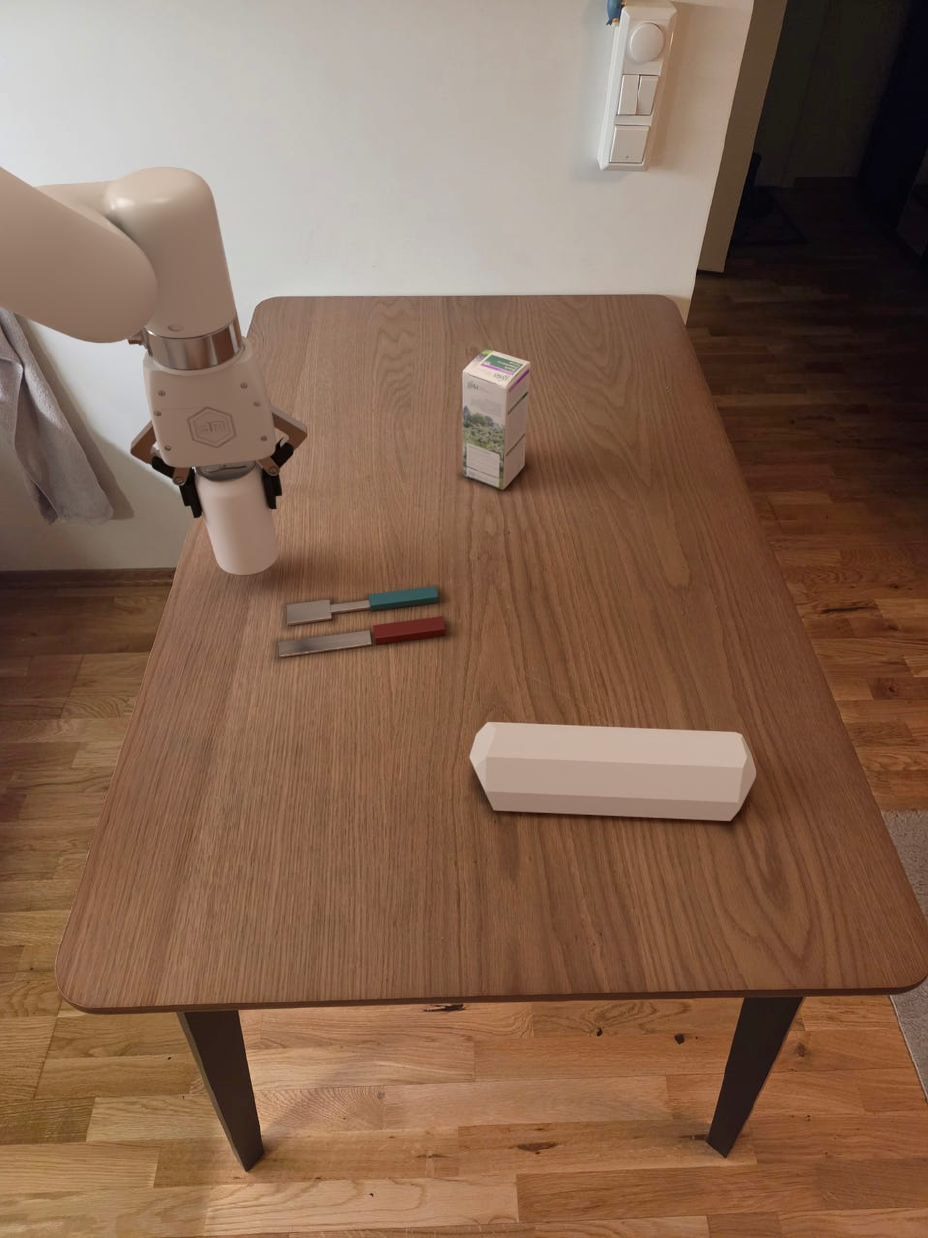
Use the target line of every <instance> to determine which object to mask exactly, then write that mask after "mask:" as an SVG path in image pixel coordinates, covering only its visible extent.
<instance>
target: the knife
mask: <svg viewBox="0 0 928 1238" xmlns="http://www.w3.org/2000/svg"><path fill="white" fill-rule="evenodd" d="M372 628H373V634H374V635H373V636H374V641H375V642H374V643H375V645H376V646H377V645H383V644H390V643H392V644H393V643H399V642H406V641H414V640H421V639H429V638H436V637H444V636H446V624H445V621H444V616H443V615H441V616H433V617H426V618H417V619H410V620H402V621H396V622H387V623H386V622H385V623H379V624H373V625H372ZM372 645H373V644H372V637H371V630H370V629H369V630H362V631H354V632H346V633H339V634H330V635H325V636H323V635H322V636H316V637H309V638H301V639H300V638H299V639H293V640H285V641H279V642H278V657H279V658H287V657H296V656H305V655H311V654H318V653H327V652H333V651H340V650H348V649H355V648H364V647H371V646H372Z"/></svg>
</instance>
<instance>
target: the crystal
mask: <svg viewBox="0 0 928 1238" xmlns="http://www.w3.org/2000/svg"><path fill="white" fill-rule="evenodd" d="M752 755H753V754H752V752H751V750H750V748H749V746H748V743H747V741H746V740H745V737H744V736H743V734H742V733H739V732H737V731H720V730H719V731H718V730H717V731H716V730H715V731H714V730H696V729H695V730H692V729H670V728H669V729H667V728H646V727H618V726H598V725H597V726H596V725H575V724H574V725H571V724H549V723H548V724H547V723H544V724H543V723H525V722H523V723H521V722H500V721H499V722H497V721H495V722H494V721H487V722H486V723H485V724H484V725H483V726H482V727H481V728H480V729H479V731H478V732H477V733H476V734H475V737H474V740H473V743H472V747H471V750H470V753H469V757H468V758H469V760H470V763H471V764H472V767H473V769H474V772H475V774H476V775H477V778H478V780H479V782H480V784H481V788H483V791H484V793H485V796H486V797H487V800H488V801H489V804H490V807H491V808H492V809H493V811H500V812H501V811H502V812H519V813H520V812H521V813H545V814H567V815H590V816H591V815H592V816H608V817H609V816H611V817H612V816H613V817H631V818H632V817H633V818H654V819H655V818H657V819H677V820H678V819H679V820H680V819H681V820H699V821H700V820H701V821H723V822H731V821H732V820H733V818H734V817H735V816H736V815H737V814H738V813H739V811H740V810H741V808H742V806H743V804H744V802H745V800H746V799H747V796H748V795H749V792H750V790H751V788H752V786H753V784H754V782H755V780H756V778H757V769H756V766H755V762H754V761H755V760H754V758H753V756H752Z"/></svg>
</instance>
